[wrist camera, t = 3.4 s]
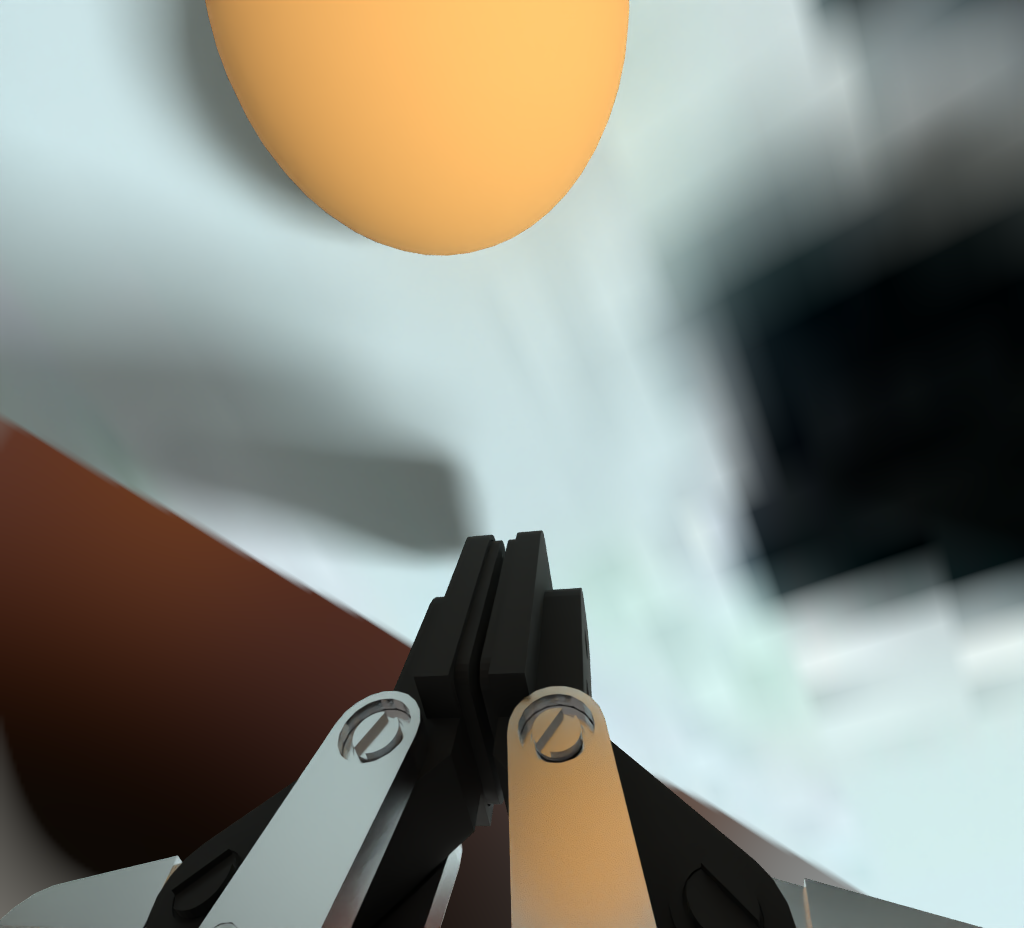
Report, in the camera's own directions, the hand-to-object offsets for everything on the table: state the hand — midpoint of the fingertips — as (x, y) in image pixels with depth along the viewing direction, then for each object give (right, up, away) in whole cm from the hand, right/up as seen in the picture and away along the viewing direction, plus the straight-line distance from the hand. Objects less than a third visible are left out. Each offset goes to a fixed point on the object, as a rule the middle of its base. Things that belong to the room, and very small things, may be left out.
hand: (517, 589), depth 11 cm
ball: (-1, +9, -4) cm, 10 cm away
